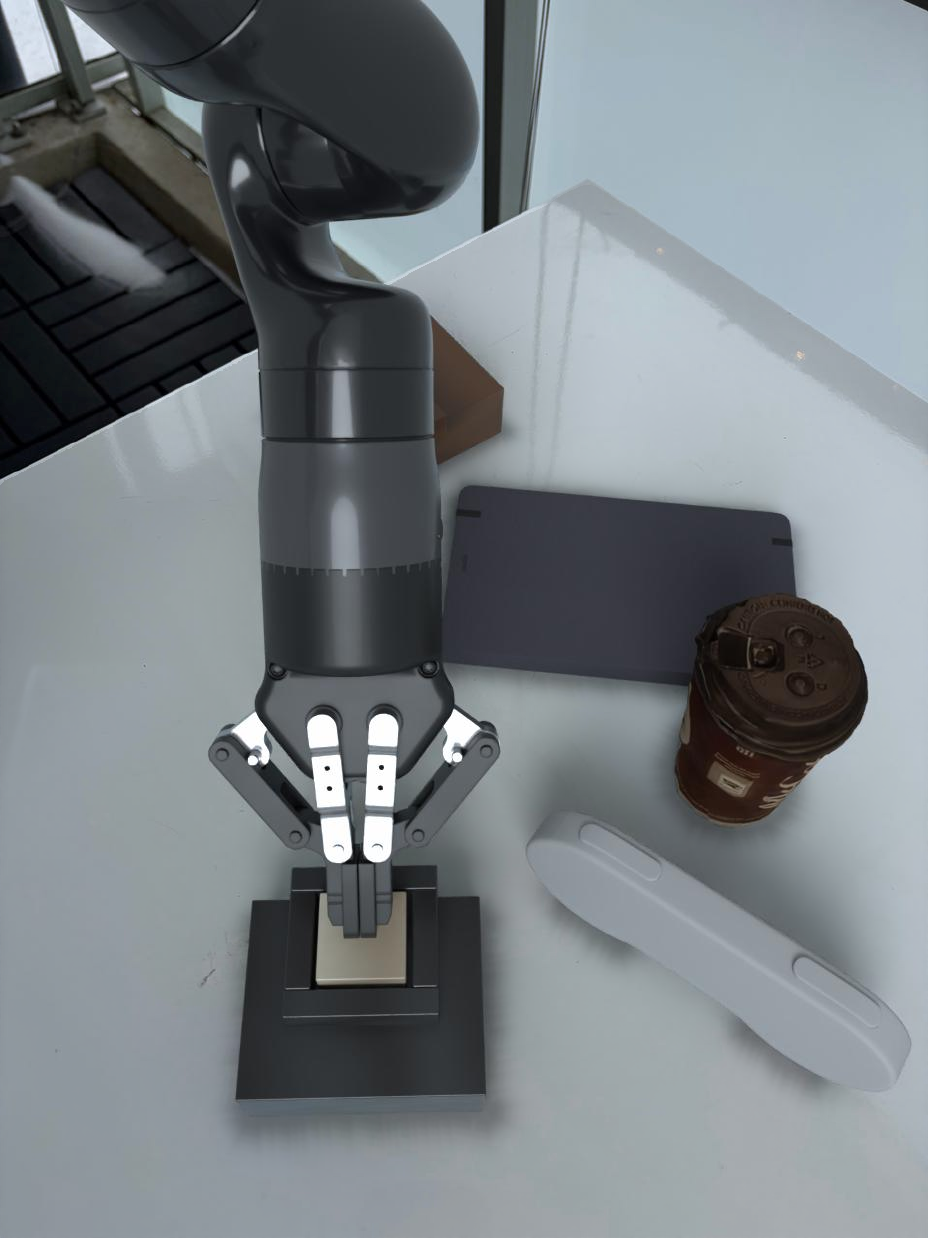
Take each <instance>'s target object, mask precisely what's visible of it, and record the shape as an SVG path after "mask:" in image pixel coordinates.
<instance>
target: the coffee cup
mask: <svg viewBox="0 0 928 1238" xmlns="http://www.w3.org/2000/svg"><path fill="white" fill-rule="evenodd" d="M706 619H707V621H706V622H705V623H704V624H703V628H702V629H701V631H700V634H698V635H697V636H696V637H695V642H696V644H697V656H696V659H695V661H694V667H693V671H692V676H691V680H690V684H689V686H688V689H687V697H686V705H685V708H684V712H683V717H682V720H681V723H680V727H679V733H678V738H679V743H680V745H679V747H678V749H677V752H676V755H675V761H674V762H675V763H674V768H673V776H674V778H675V783H676V788H677V794H678V795H679V798H681V800H682V801H684V802H685V803H686V804H687V805H688V806H689V807H690V808H691V810H693V812H694V813H695V814H696V815H697V816H699V817H702V818H705V820H706V821H707V822H709V823H710V824H714V825H718V826H721V827H724V828H739V827H742V826H747V825H751V824H754V823H757V822H761V821H763V820H764V819H766V818H768V817H769V816H770V815H772V814H773V813H774V812H776V811H777V809H778V808H779V806H780V805H781V804H782V803H783V802H784V800H786V798H787V796H788V795H790V794H792V792H794V791H795V789H796V788H797V787H798V786H799V785H800V783H801V782H802V781H803V780H804V779H805V778H806V776H808V774H809V773H810V772H811V771H812V769H814V768H815V766H816V765H818V763H819V762H820V761H821V760H822V759H823V758H824V757H825V756H827V755H830V754H831V753H833V752H835V751H837V750H838V749H839V748H840V747H842V746H843V745H844V744H846V742H847V741H848V740H849V739H850V738H851V737H852V735H853V734H854V732H855V730H856V729H857V728H858V726H859V725H861V722H862V720H863V717H864V714H865V712H866V709H867V704H868V702H869V681H868V676H867V672H866V667H865V664H864V660H863V659H862V657H861V655H860V652H859V651H858V649H857V648H856V646H855V643H854V639H853V638H852V635H851V634H850V632H849V630H848V628H846V626H844V624H843V622H842V620H841V619H839V618H838V617H836V616H834V615H833V614H832V613H831V612H830V611H828V609H826V608H823V607H822V606H820V605H818V604H815V603H812V602H811V601H809V600H808V599H807V598H802V597H798V596H797V595H796V596H794V595H789V594H784V593H776V594H775V595H773V596H770V595H764V596H762V595H760V596H759V597H757V598H754V597H752V598H750V599H748V600H745V601H742V602H738V603H733V604H730V605H728V606H725V607H723V608H721V609H719V610H717V611H715V612H714V613H713V614H711V615H708V616H706Z"/></svg>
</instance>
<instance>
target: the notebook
mask: <svg viewBox="0 0 928 1238" xmlns="http://www.w3.org/2000/svg"><path fill="white" fill-rule="evenodd" d="M455 513H456V514H455V523H454V530H453V536H452V545H451V551H450V560H449V567H448V575H447V582H446V589H445V595H444V604H443V609H442V637H443V663H446V664H454V665H455V664H456V665H467V666H477V667H487V668H497V669H506V670H507V669H508V670H517V671H528V672H538V673H547V674H548V673H549V674H559V675H570V676H580V677H581V676H582V677H588V678H589V677H590V678H598V679H599V678H601V679H608V680H609V679H610V680H619V681H621V680H622V681H631V682H640V683H650V684H651V683H652V684H661V685H672V686H680V687H681V686H682V687H689V684H690V680H691V676H692V671H693V667H694V661H695V659H696V656H697V644H696V642H695V637H696V636H697V635H698V634H700V631H701V629H702V628H703V624H704V623H705V622H706V621H707V619H706V616H708V615H711V614H713V613H714V612H715V611H717V610H719V609H721V608H723V607H725V606H728V605H730V604H733V603H738V602H742V601H745V600H748V599H750V598H752V597H754V598H757V597H759V596H760V595H762V596H764V595H770V596H773V595H775V594H776V593H784V594H789V595H794V596H796V597H797V586H796V575H795V563H794V550H793V548H794V545H793V544H794V543H793V537H792V527H791V522H790V520H789V518H788V517H787V516H786V515H784V513H780V512H775V511H765V510H754V509H753V510H752V509H743V508H731V507H721V506H709V505H699V504H698V505H697V504H686V503H675V502H667V501H666V502H664V501H655V500H644V499H632V498H620V497H611V496H599V495H589V494H577V493H566V492H554V491H544V490H534V489H533V490H532V489H523V488H511V487H501V486H500V487H499V486H489V485H478V484H477V485H476V484H472V485H471V484H470V485H469V484H468V485H466V486H464V487H463V488H462V489H460V492H459V495H458V501H457V508H456V511H455Z"/></svg>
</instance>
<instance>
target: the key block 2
mask: <svg viewBox="0 0 928 1238" xmlns="http://www.w3.org/2000/svg"><path fill="white" fill-rule="evenodd" d="M430 318H431V325H432V333H433V370H432V371H433V372H434V434H433V435H432V436H430V437H433V438H434V442H435V455H436V463H437V466H438V465H441V464H442V463H444V462H446V461H449V460H451V459H452V458H454V457H456V456H458V455H460V454H461V453H464V452H466V451H467V450H470V449H471V448H474V447H475V446H477V445H479V444H482V443H483V442H485V441H487V440H489V439H490V438H491V439H492V437H494V436H496V435H498V434H500V433H502V427H503V424H502V423H503V412H504V411H503V410H504V396H505V388H504V387H503V385H502V384H500V383H499V382H498V381H497V379H495V377H493V375H491V373H490V372H489V371H488V370H487V369H486V368H484V367H483V366H482V364H480V362H478V360H477V359H476V358H474V357H473V356H472V354H470V352H468V350H467V349H466V348H465V347H463V346H462V344H460V343H459V341H457V340H456V339H455V338H454V337H453V336H452V335H451V333H449V331H448V330H446V329H445V327H444V326H442V325H441V324H440V323H439V322H438V320H436V319H435V318H434V317H433V316H432V315H431V314H430Z"/></svg>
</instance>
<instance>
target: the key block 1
mask: <svg viewBox="0 0 928 1238" xmlns="http://www.w3.org/2000/svg"><path fill="white" fill-rule="evenodd" d="M392 878H393V879H392V880H393V892H406V895H407V988H372V989H322V990H319V987H318V984H317V981H316V963H317V943H318V923H319V903H320V894H321V893H327V882H326V866H294V867H292V868H291V874H290V888H289V889H290V890H289V891H290V893H289V899H252V901H251V907H250V908H251V909H250V920H249V921H250V922H249V933H248V943H247V944H248V945H247V954H246V955H247V957H246V966H245V967H246V968H245V978H244V979H245V980H244V991H243V1003H242V1014H241V1015H242V1016H241V1027H240V1039H239V1050H238V1062H237V1072H236V1073H237V1074H236V1084H235V1085H236V1086H235V1097H234V1098H235V1099H234V1100H235V1102H236V1103H237V1104H238V1106H239V1107H240V1108H241V1109H242V1110H243V1111H244V1112H245V1114H247V1115H248V1117H251V1118H254V1117H255V1118H256V1117H258V1118H259V1117H292V1116H295V1117H296V1116H297V1117H298V1116H336V1115H337V1116H340V1115H341V1116H342V1115H343V1116H344V1115H345V1116H346V1115H381V1114H382V1115H384V1114H387V1115H388V1114H428V1113H429V1114H430V1113H467V1112H469V1113H470V1112H474V1113H475V1112H483V1111H484V1108H485V1103H486V1097H487V1074H486V1044H485V1043H486V1041H485V1012H484V1011H485V1010H484V983H483V954H482V953H483V952H482V951H483V950H482V925H481V924H482V923H481V922H482V921H481V896H479V895H472V896H471V895H469V896H467V895H466V896H465V895H463V896H438V894H439V890H438V888H439V887H438V865H437V864H412V865H392Z"/></svg>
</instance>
